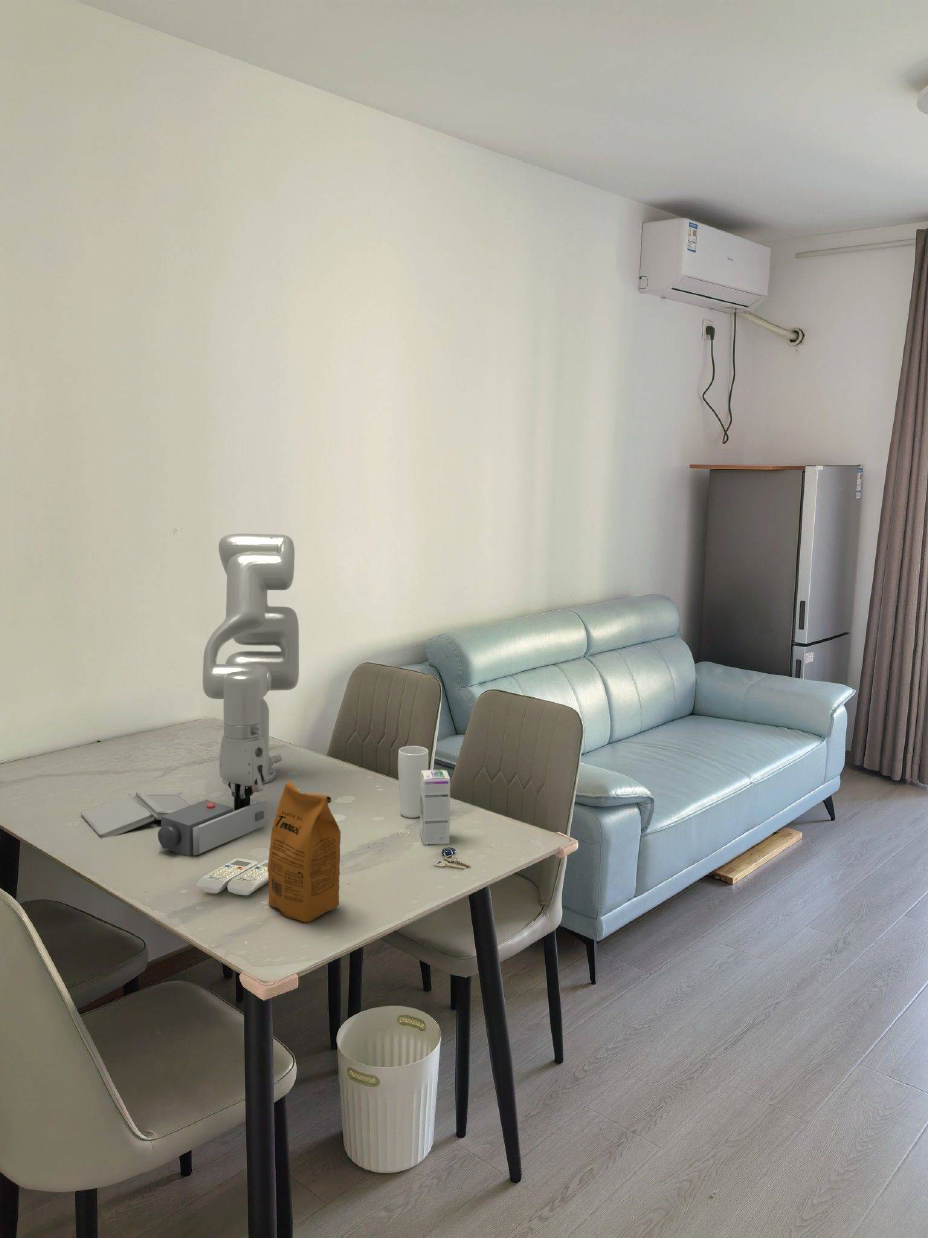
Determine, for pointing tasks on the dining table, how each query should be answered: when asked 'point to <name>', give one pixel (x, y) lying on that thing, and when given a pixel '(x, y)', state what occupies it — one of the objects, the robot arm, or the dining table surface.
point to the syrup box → (435, 807)
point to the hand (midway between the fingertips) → (242, 814)
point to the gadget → (133, 811)
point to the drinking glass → (411, 778)
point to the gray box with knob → (188, 824)
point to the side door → (228, 827)
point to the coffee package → (304, 856)
